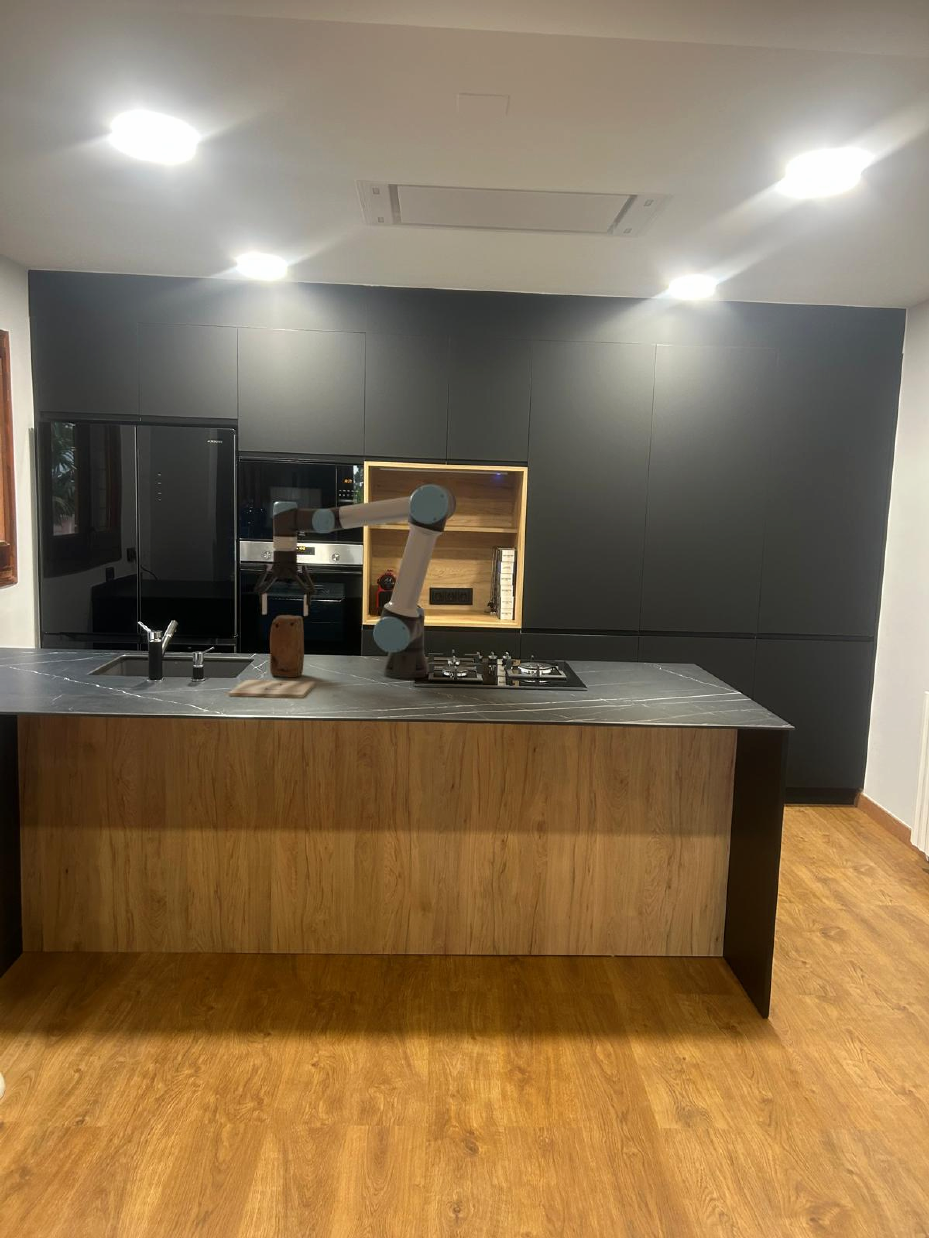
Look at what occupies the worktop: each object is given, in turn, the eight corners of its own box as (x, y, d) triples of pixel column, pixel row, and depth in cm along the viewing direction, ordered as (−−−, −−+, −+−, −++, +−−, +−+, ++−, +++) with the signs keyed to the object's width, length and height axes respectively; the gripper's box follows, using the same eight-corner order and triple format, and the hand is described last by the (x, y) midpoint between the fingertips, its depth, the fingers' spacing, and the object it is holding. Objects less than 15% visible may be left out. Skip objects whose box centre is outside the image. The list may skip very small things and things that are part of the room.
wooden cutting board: (315, 684, 266) (315, 681, 266) (302, 697, 248) (302, 694, 248) (246, 682, 267) (246, 679, 267) (228, 696, 249) (228, 692, 249)
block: (305, 674, 282) (305, 614, 279) (300, 678, 274) (299, 618, 272) (273, 673, 282) (272, 614, 279) (267, 677, 275) (266, 617, 272)
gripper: (325, 550, 276) (325, 614, 279) (250, 547, 277) (250, 611, 280) (321, 551, 268) (320, 617, 271) (243, 549, 269) (244, 614, 272)
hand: (285, 614), depth 276 cm, fingers open, 13 cm apart
